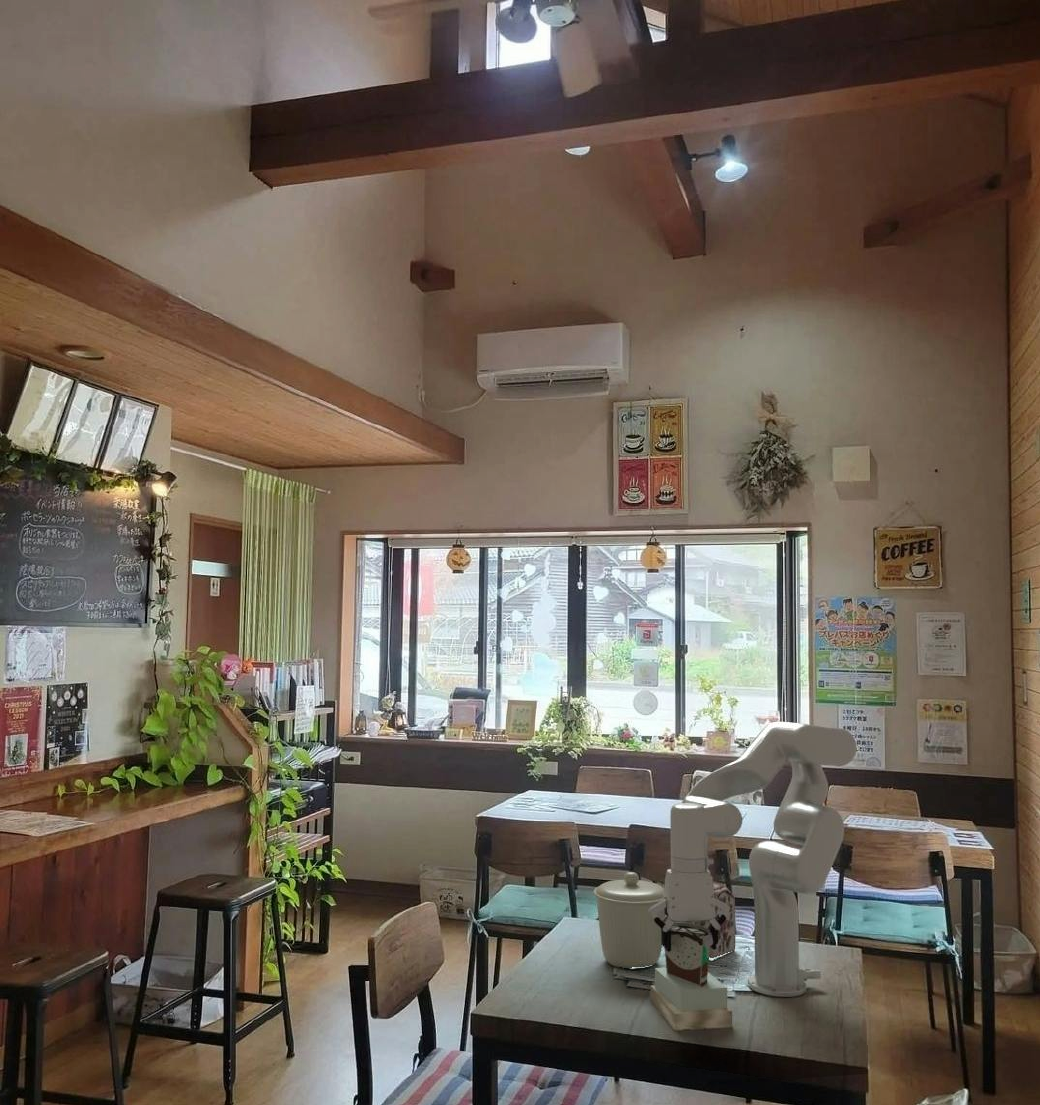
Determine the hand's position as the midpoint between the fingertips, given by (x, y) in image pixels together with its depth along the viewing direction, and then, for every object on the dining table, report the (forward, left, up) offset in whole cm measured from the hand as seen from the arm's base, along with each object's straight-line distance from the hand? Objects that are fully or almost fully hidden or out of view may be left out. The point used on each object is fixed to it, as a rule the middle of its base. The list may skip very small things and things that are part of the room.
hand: (689, 948), depth 204 cm
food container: (-1, 0, -6) cm, 6 cm away
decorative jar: (-16, -38, -13) cm, 43 cm away
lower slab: (0, 0, -14) cm, 14 cm away
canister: (+4, -32, -13) cm, 35 cm away
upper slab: (0, 0, -10) cm, 10 cm away
